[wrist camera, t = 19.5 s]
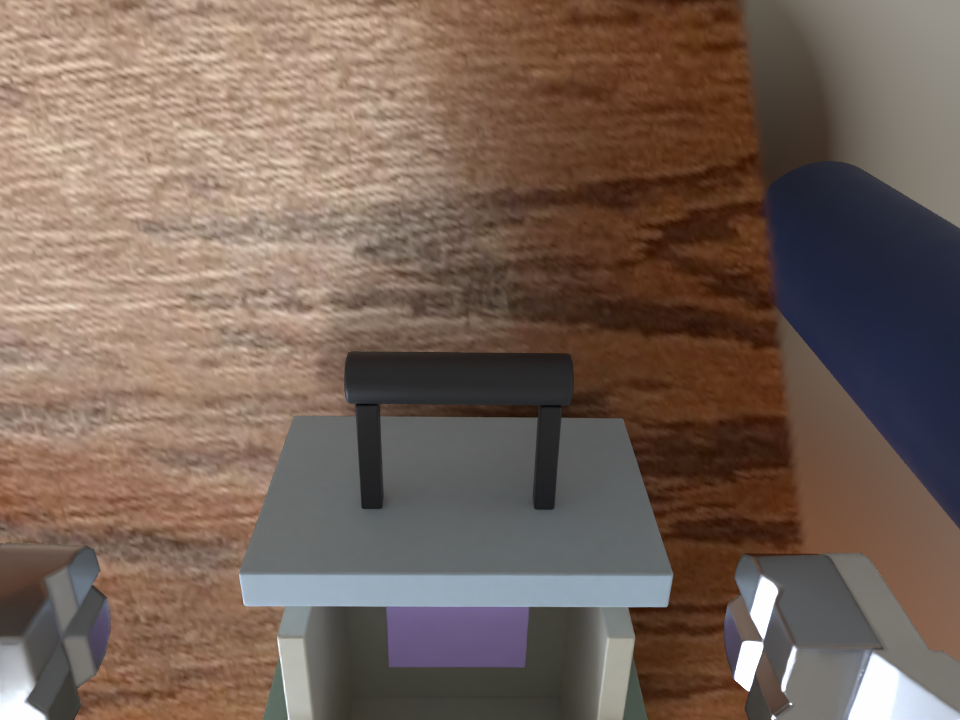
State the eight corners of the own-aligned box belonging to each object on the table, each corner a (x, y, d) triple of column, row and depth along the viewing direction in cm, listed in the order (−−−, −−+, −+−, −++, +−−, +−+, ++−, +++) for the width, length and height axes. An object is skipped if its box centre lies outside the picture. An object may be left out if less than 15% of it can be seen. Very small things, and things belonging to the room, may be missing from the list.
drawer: (280, 282, 26) (212, 411, 19) (638, 286, 26) (701, 415, 19) (321, 687, 34) (285, 878, 27) (591, 687, 35) (622, 876, 28)
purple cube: (523, 475, 28) (532, 562, 24) (517, 572, 30) (525, 667, 26) (394, 474, 28) (383, 562, 24) (398, 572, 30) (388, 668, 26)
